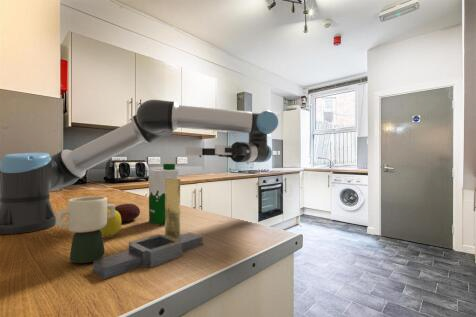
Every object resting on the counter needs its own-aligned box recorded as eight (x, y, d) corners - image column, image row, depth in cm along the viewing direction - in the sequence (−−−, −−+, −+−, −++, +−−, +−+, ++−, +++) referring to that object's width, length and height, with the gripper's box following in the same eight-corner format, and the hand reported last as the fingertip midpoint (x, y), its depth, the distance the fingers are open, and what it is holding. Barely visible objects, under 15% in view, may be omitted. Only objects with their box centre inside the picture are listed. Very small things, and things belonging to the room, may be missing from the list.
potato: (105, 223, 80) (106, 204, 80) (133, 217, 88) (133, 200, 88) (118, 226, 76) (118, 207, 76) (145, 219, 85) (145, 202, 85)
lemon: (111, 241, 62) (112, 210, 62) (93, 239, 63) (93, 209, 63) (125, 235, 67) (126, 206, 67) (108, 233, 68) (109, 205, 68)
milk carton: (180, 221, 82) (181, 164, 82) (155, 226, 76) (155, 164, 76) (169, 217, 88) (170, 163, 89) (145, 221, 82) (145, 163, 83)
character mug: (107, 248, 56) (108, 194, 57) (121, 256, 52) (121, 197, 52) (50, 263, 48) (51, 199, 48) (60, 274, 43) (61, 203, 44)
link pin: (161, 237, 65) (162, 179, 65) (174, 234, 68) (174, 178, 68) (170, 240, 62) (170, 180, 62) (182, 237, 65) (183, 179, 65)
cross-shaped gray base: (89, 268, 46) (89, 252, 46) (184, 238, 64) (184, 227, 64) (108, 283, 40) (109, 265, 40) (207, 246, 58) (207, 234, 58)
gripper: (271, 162, 81) (230, 162, 65) (219, 162, 97) (175, 162, 81) (271, 140, 81) (230, 135, 65) (219, 144, 97) (175, 140, 81)
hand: (200, 150), depth 73 cm, fingers open, 13 cm apart
